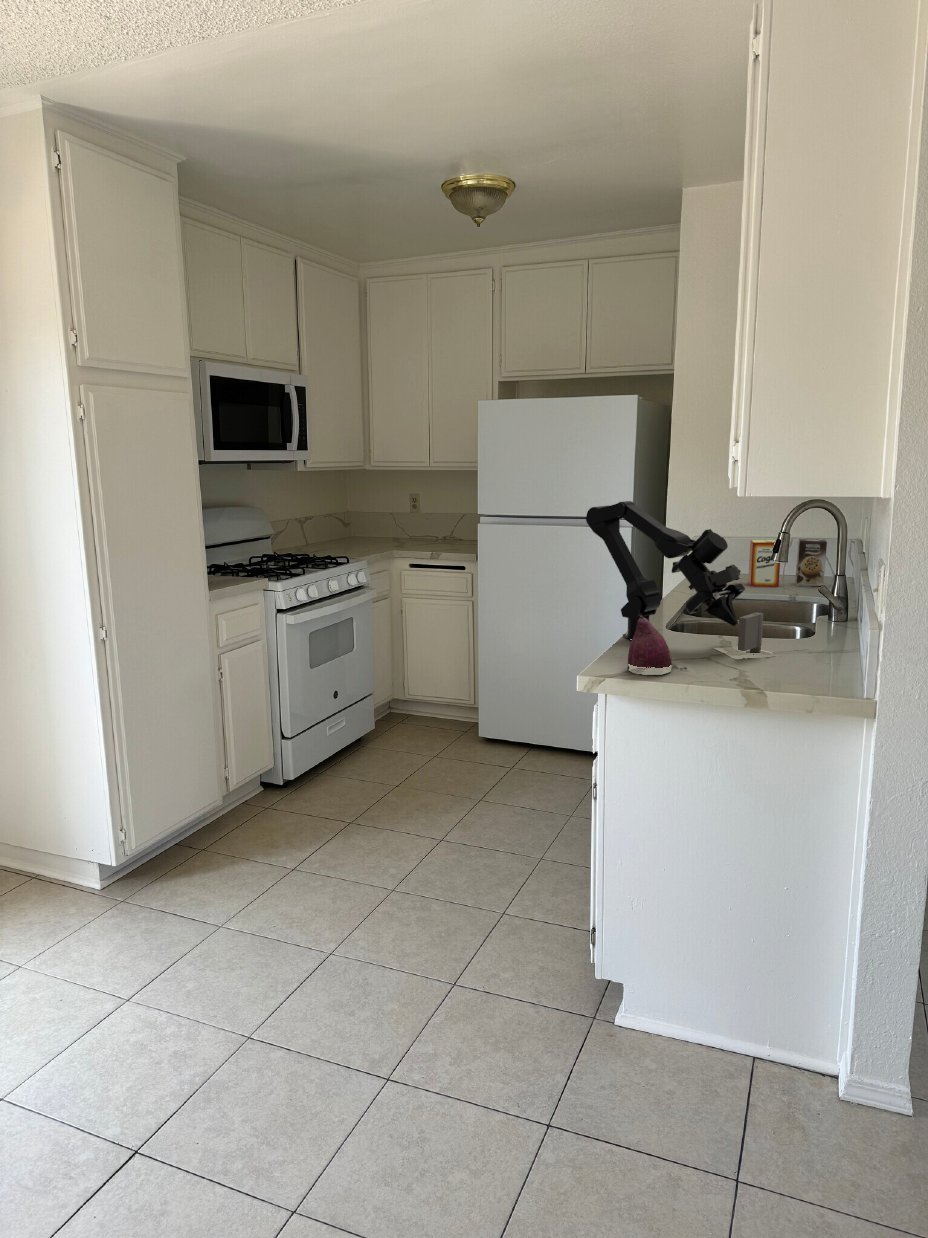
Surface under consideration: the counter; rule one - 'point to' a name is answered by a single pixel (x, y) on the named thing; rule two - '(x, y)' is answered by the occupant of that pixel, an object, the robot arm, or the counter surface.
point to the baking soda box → (762, 564)
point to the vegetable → (648, 647)
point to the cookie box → (810, 562)
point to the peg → (751, 633)
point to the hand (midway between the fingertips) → (736, 624)
